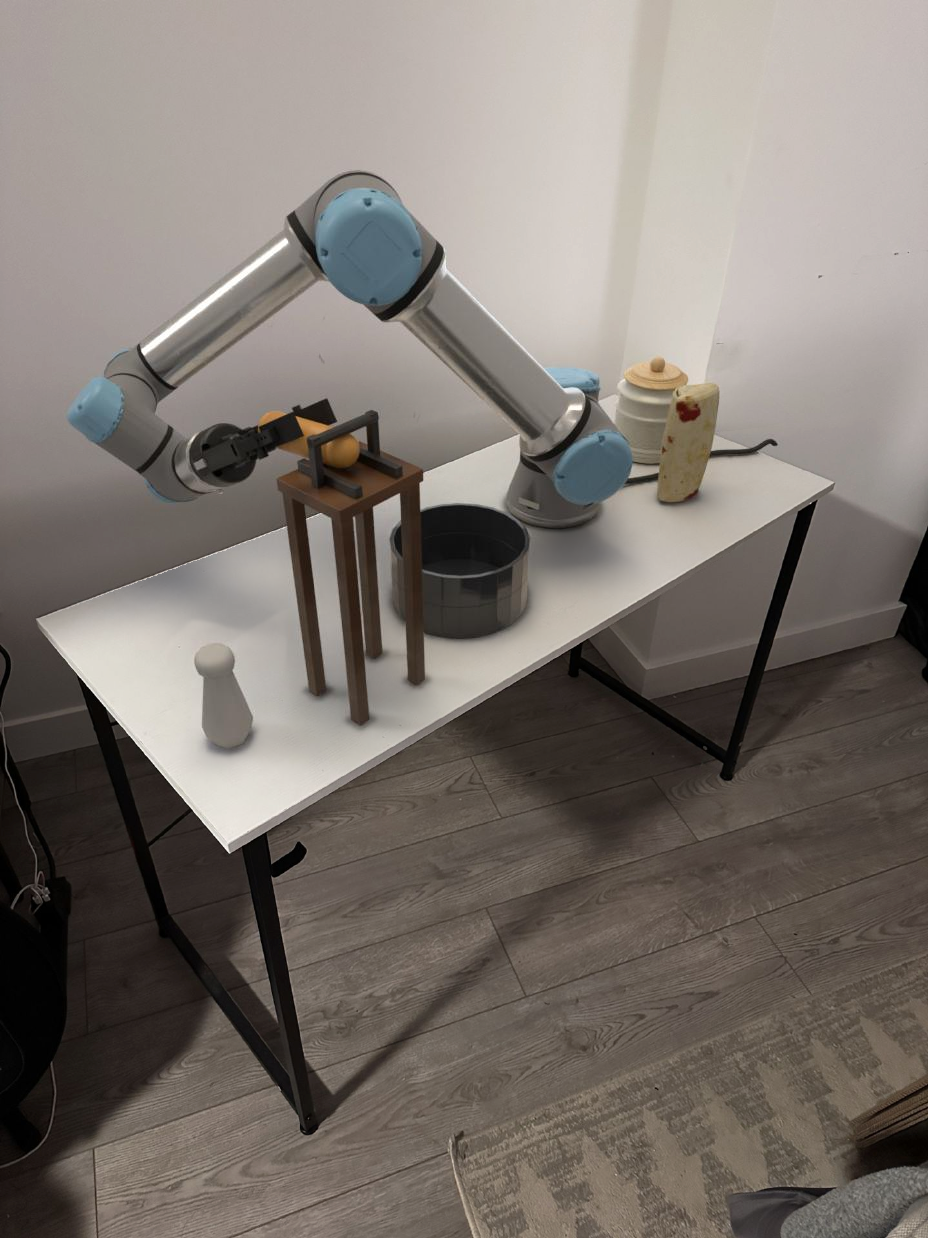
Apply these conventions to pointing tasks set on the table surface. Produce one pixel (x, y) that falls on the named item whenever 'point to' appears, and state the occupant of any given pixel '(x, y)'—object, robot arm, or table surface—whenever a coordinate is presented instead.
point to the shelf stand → (341, 501)
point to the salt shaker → (222, 697)
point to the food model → (687, 441)
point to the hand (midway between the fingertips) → (312, 417)
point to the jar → (646, 406)
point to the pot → (466, 569)
